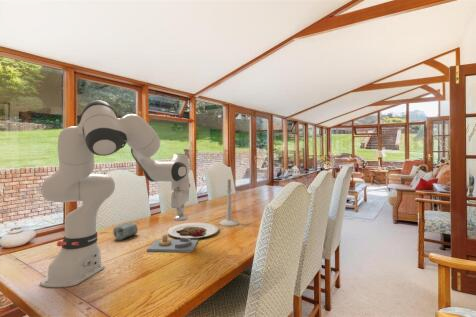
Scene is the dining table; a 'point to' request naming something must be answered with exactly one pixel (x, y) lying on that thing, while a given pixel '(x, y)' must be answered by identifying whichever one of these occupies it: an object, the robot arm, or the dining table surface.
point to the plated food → (193, 230)
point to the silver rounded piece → (180, 216)
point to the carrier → (172, 245)
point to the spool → (125, 230)
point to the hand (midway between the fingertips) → (180, 213)
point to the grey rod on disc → (229, 210)
